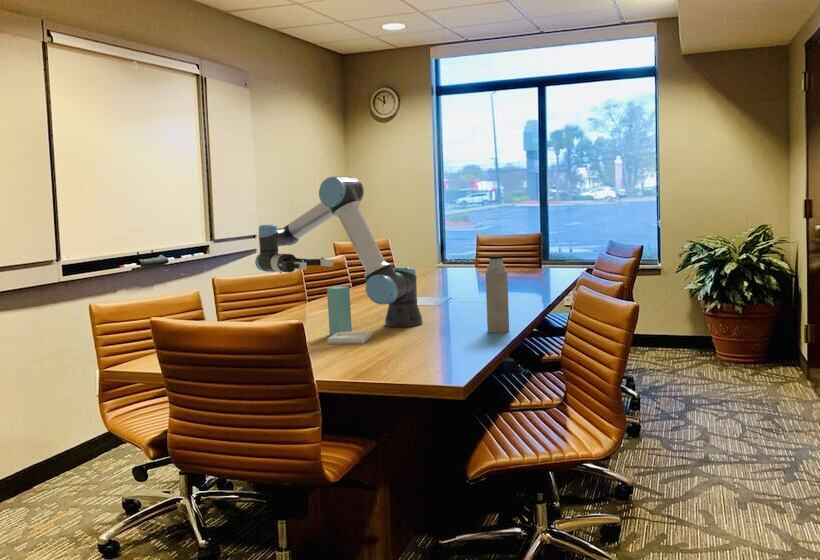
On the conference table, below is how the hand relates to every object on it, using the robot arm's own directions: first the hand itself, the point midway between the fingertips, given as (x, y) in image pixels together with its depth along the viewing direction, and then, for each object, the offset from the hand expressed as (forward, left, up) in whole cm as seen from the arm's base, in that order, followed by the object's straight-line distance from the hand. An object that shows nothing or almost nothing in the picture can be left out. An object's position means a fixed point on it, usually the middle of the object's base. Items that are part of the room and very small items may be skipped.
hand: (319, 264), depth 288 cm
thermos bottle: (-68, +4, -27) cm, 74 cm away
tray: (-15, +18, -27) cm, 36 cm away
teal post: (-8, +5, -27) cm, 28 cm away
